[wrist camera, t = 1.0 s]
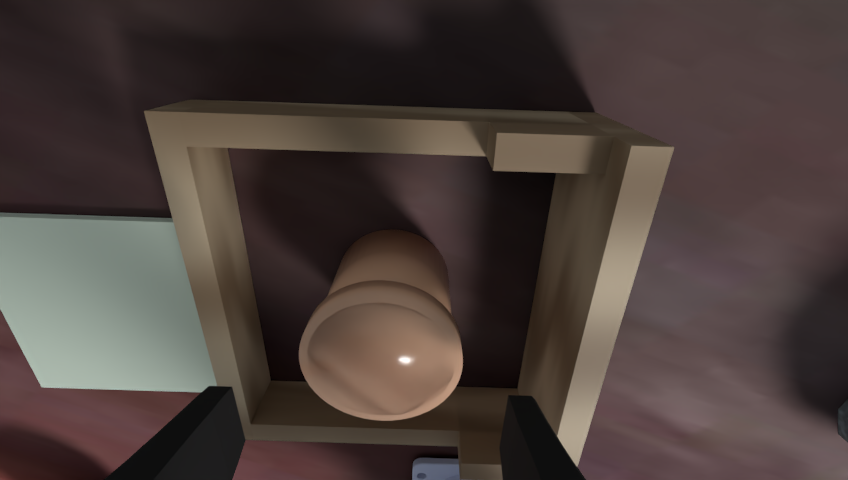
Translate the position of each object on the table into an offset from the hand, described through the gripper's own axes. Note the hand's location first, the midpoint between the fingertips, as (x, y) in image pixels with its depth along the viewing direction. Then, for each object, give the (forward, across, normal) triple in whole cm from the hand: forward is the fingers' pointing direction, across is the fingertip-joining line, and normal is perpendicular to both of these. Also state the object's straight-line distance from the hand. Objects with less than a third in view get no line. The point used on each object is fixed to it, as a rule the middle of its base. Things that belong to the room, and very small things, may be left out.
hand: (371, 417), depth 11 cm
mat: (+7, +12, +2) cm, 14 cm away
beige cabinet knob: (+7, 0, 0) cm, 7 cm away
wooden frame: (+7, 0, 0) cm, 7 cm away
